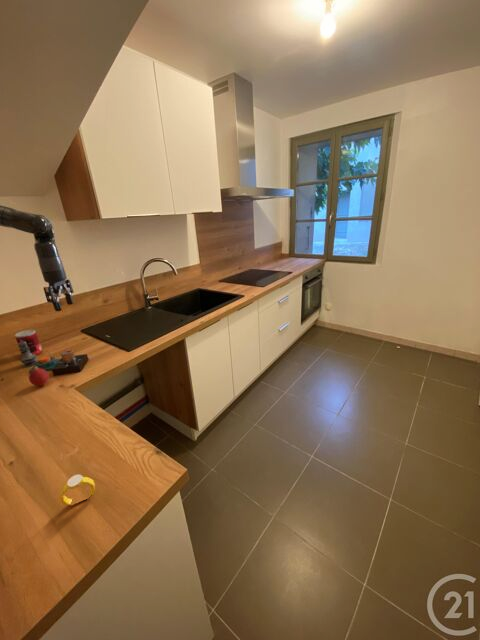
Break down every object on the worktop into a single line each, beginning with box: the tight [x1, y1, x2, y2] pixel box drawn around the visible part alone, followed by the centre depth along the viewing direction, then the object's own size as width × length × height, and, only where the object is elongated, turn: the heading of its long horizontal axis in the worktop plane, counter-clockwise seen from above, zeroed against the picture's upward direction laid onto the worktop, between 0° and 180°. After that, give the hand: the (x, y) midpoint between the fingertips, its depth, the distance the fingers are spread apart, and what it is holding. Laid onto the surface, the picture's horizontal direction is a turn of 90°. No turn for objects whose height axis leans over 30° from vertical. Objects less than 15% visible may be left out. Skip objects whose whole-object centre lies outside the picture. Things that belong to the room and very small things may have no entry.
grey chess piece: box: [17, 340, 39, 368], centre depth 112 cm, size 6×6×12 cm
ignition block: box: [28, 356, 61, 375], centre depth 111 cm, size 10×8×3 cm
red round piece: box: [28, 367, 50, 387], centre depth 97 cm, size 6×6×8 cm
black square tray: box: [51, 353, 89, 377], centre depth 109 cm, size 10×10×3 cm
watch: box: [60, 474, 96, 506], centre depth 55 cm, size 6×3×6 cm, turn 117°
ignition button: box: [38, 355, 51, 363], centre depth 110 cm, size 4×4×2 cm
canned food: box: [14, 329, 43, 357], centre depth 122 cm, size 8×8×11 cm
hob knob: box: [60, 348, 76, 364], centre depth 108 cm, size 4×4×5 cm
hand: (64, 307), depth 109 cm, fingers open, 8 cm apart
